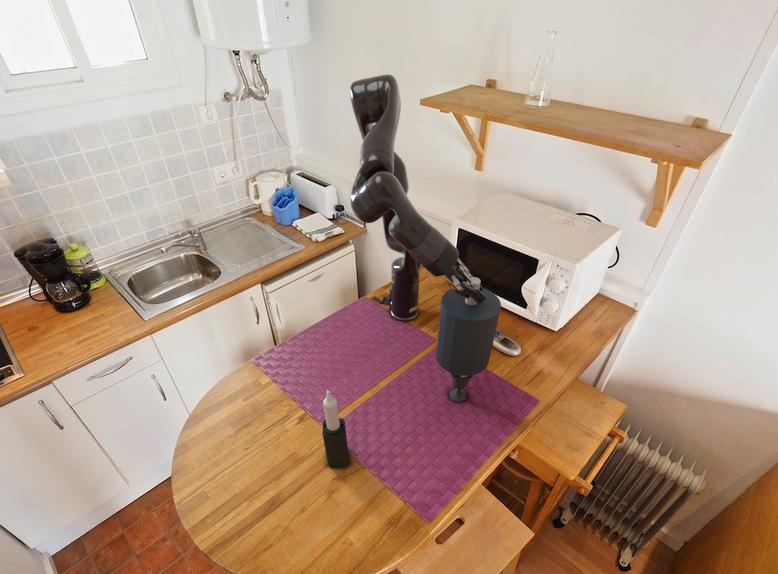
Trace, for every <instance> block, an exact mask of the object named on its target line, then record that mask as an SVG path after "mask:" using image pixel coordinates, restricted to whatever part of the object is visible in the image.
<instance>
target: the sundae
mask: <svg viewBox="0 0 778 574" xmlns="http://www.w3.org/2000/svg"><path fill="white" fill-rule="evenodd" d="M450 375H451V381H452V385H453V387H454V388H453V389H451V390H450V391H449V393H448V394H449V398H450V399H451V400H452V401H454V402H456V403H460V402H461V403H462V402H464V401H466V399H467V397H468V395H467V392H466V391H465V390H464V389H465V388H467V386H468V384H469V381H470V380H471V379H472V378H473V376H474V375H471V376H460V375H456V374H453V373H450Z"/></svg>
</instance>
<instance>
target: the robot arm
mask: <svg viewBox="0 0 778 574" xmlns="http://www.w3.org/2000/svg"><path fill="white" fill-rule="evenodd" d="M349 97H350V103H351V108H352V112H353V115H354V118H355V121H356V124H357V127H358V130H359V134H360V136H361V140H362V143H361V145H360V146H361V147H360V150H359V151H360V152H359V169H358V171H357V174H356V176H355V178H354V182H353V184H352V188H351V191H350V199H349V200H350V201H349V203H350V208H351V211H352V213H353V215H354V216H355V218H356V219H358V220H359V222H362V223H365V224H372V223H375V222H377V221H379V220H380V219H381V220H382V224H383V225H382V226H383V233H384V239H385V242H386V245H387V247H388V249H390V250H391V251H393V252H395V253H398V254H400V255H403V256H400V257H398V258H395V259H394V260H392V262H391V287H390V288H389V293H388V294H385V295H384V296H383V297H382V299H379V298H378V297H376V296H373V297H372V299H373V300H374V301H376V302H377V303H379V304H386V305H387V306H389V311H390V314H391V316H392V317H393V319H395V320H398V321H402V322H408V321H412V320H414V319H415V318H417V317H418V314H419V297H420V296H419V295H420V294H419V293H420V275H421V274H420V273H421V272H420V271H421V266H422V267H423V268H424V269H425V270H427V272H429V273H430V274H431V275H432V276H433V277H442V276H445V280H447V281H448V282H449V283H450V284H452V285H453V286H454V287H455V288H454V287H453V288H454V291H455V292H456V293H457V294H459V295H461V296H463V297H465V298H467V299H469V298H470V297H472V298H473V299H474V300H475V301H476V302H477V303H481V302H482V301H484V300H485V299H486V297H485V295H484V294H483V293H482V292H481V291H482V290H483V288H484V287H483V286H482V285H480V288H479V290H478V289H477V288H476V286H475V285H474V284H473V283H472V282H471V277H474V276H473V275H472V274H471V271H470V269H469V268H468V266H466V264H465V263H464V262H463V261H462V260H461V258H459V256H460V253H459V250H458V248H457V247H456V246H455V245H454V244H453V243H452V242H451V241H449V239H447V238H446V237H445V236H444V234H442V232H441V231H439V230H438V228H436V227H435V226H433V225H432V224H431V223H429V221H428V220H426V219H425V218H424V217H423V216H422V215H421V214H420V213H419V212H418V211H417V209H416V208H415V207H414V205H413V203H412V202H411V200H410V199H409V197H408V193H409V188H410V187H409V179H408V173H407V168H406V167H407V166H406V164H405V162H404V161H403V159H402V158H401V156H400V155H399V154H398V153H397V152H396V151H395V144H396V143H395V142H396V137H397V136H396V135H397V133H398V127H399V122H400V116H401V109H402V104H401V103H402V101H401V100H402V99H401V92H400V87H399V84H398V81H397V79H396V77H395V76H394V75H392V74H381V75H375V76H371V77H365V78H361V79H358V80H355V81H353V82H352V83H351V84H350V87H349ZM469 285H470V286H469Z"/></svg>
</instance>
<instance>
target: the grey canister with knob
mask: <svg viewBox="0 0 778 574" xmlns="http://www.w3.org/2000/svg"><path fill="white" fill-rule="evenodd" d="M471 282H472V283H473V284H474V285H475V286H476V288H477V289H478V290H479V288H480V286H481V279H480V278H478V277H476V276H475V277H474V276H473V277H471ZM469 286H470V285H469ZM454 288H455V286H454V287H451V288H449V289H448V290H446V291H445V292H444V293H443V295H442V297H441V300H440V310H439V311H440V312H439V320H438V328H437V329H438V330H437V340H436V349H435V356H436V357H435V358H436V359H435V360H436V361H437V363H438V364H439V366H440V367H441V368H442V369H444V371H446V372H448V373H450V374H451V373H453V374H456V375H460V376H471V375H473V376H475V375H478V374H481V373H482V372H483V371H486V369H487V367H488V365H489V364H490V361H491V355H492V350H493V346H494V342H495V337H496V331H497V328H498V323H499V318H500V314H501V309H502V302H501V300H500V298H499V297H498V295H496V294H495V293H494V292H492V291H491V290H489V289H487V288H484V287H482V288H483V290H482V291H481V292H482V293H483V294H484V295H485V297H486V299H485V300H484V301H482V302H481V303H477V302H476V301H475V300H474V299H473V298H472V297H470V298H469V299H467V298H465V297H463V296H461V295H459V294H457V293H456V292H455V291H454Z"/></svg>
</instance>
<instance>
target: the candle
mask: <svg viewBox="0 0 778 574" xmlns="http://www.w3.org/2000/svg"><path fill="white" fill-rule="evenodd" d="M322 404H323V411H324V416H325V417H324V418H325V419H324V420H323V422H322V432H321V433H322V439H323V444H324V449H325V455H326V463H327V466H328V467H329V468H330V469H338V468H346V467H348V466H349V463H350V462H349V461H350V460H349V447H348V445H349V444H348V438H347V430H346V429H347V428H346V422H345V419H344V418H342V417H339V410H338V401H337V398H336V397H334V396H333V395H332V394H331V390H326V396H325V398H324V400H323V401H322Z"/></svg>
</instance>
